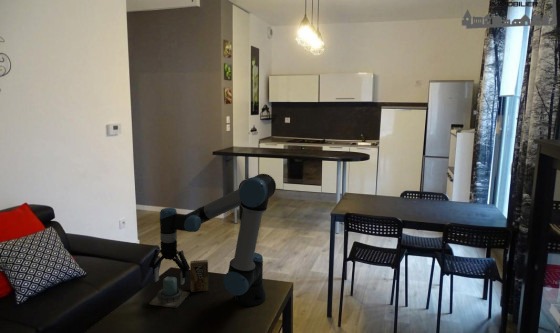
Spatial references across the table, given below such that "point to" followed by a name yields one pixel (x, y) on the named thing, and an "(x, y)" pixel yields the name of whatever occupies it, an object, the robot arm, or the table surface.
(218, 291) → the table surface
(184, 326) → the table surface
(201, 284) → the candy box
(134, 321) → the table surface
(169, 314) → the table surface
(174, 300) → the square base with ring
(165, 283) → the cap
